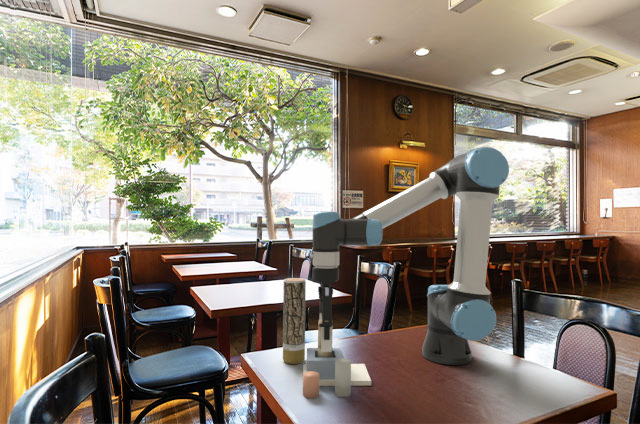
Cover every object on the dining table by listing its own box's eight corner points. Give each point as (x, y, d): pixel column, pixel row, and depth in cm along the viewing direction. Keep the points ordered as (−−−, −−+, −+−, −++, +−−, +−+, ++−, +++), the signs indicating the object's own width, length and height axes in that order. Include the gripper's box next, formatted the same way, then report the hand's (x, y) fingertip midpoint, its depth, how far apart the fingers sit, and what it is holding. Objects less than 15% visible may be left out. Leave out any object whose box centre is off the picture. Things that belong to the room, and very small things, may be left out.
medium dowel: (349, 389, 97) (350, 358, 97) (351, 397, 93) (351, 364, 93) (334, 390, 97) (334, 358, 97) (335, 397, 93) (335, 364, 93)
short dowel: (318, 391, 96) (318, 371, 96) (319, 398, 92) (319, 377, 92) (302, 391, 96) (303, 371, 96) (302, 398, 92) (303, 377, 92)
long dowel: (331, 369, 107) (332, 319, 108) (332, 374, 103) (333, 322, 104) (317, 369, 107) (318, 319, 108) (317, 374, 103) (318, 322, 104)
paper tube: (301, 365, 113) (302, 281, 114) (279, 363, 114) (280, 280, 115) (307, 357, 120) (307, 278, 120) (286, 356, 121) (287, 277, 122)
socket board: (364, 367, 112) (364, 346, 112) (371, 385, 100) (371, 361, 100) (303, 368, 111) (303, 346, 111) (303, 385, 99) (303, 362, 99)
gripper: (311, 261, 118) (311, 330, 118) (313, 272, 93) (312, 359, 93) (335, 261, 119) (335, 330, 118) (343, 272, 94) (342, 359, 93)
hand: (325, 343), depth 105 cm, fingers open, 13 cm apart
